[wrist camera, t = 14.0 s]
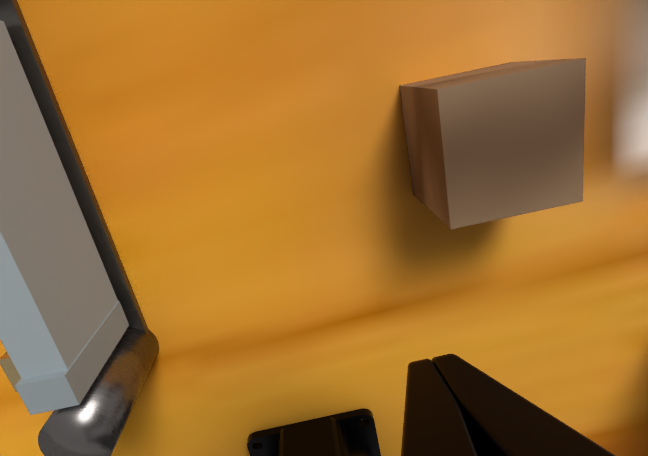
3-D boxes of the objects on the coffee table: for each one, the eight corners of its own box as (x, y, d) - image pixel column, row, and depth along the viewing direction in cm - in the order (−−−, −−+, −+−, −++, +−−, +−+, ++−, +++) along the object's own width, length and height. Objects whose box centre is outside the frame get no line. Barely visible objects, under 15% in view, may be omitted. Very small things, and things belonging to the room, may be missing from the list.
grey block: (-44, 30, 14) (-193, 10, 10) (4, 20, 14) (-123, -4, 10) (92, 332, 18) (30, 414, 14) (129, 325, 18) (79, 404, 14)
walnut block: (514, 172, 18) (582, 201, 14) (412, 193, 18) (450, 229, 14) (510, 62, 17) (585, 58, 13) (399, 85, 17) (437, 89, 13)
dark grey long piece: (-120, -66, 14) (-365, -150, 9) (-12, -88, 14) (-192, -184, 9) (92, 377, 20) (24, 483, 15) (165, 361, 20) (123, 461, 15)
